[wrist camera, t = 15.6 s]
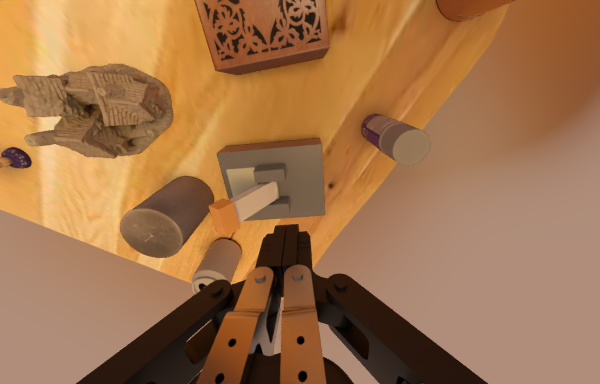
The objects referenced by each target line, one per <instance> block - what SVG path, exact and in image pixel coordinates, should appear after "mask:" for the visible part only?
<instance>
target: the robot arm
mask: <svg viewBox="0 0 600 384" xmlns="http://www.w3.org/2000/svg"><path fill="white" fill-rule="evenodd" d="M513 1H515V0H437V5H438V7H439V9H440V11H441V12H442V14H443V15H444V16H445V17H447V18H448V19H450V20H453V21H466V20H469V19H472V18H474V17H478V16H480V15H482V14H485V13H486V12H489V11H491V10H494V9H496V8H498V7H501V6H503V5H506V4H508V3H510V2H513ZM281 297H284V311H282V324H281V325H282V327H281V353H278V354H275V355H274V344H275V338H276V333H277V327H278V322H279V316H280V310H281V309H280V303H281ZM210 320H211V321H210ZM208 321H210V322H209V323H208V324H207V325H206V326H205V327H203V326H204V325H205V324H206V323H207V322H208ZM318 322H321V323H325V324H328V325H329V327H330V329H331V330H332V331H333V333H334V334H335V335H336V336H337V337H338V338H339V339H340V340H341V341H342V343H343V344H344V345H345V346H346V347H347V348H348V349H349V350H350V351H351V352H352V354H353V355H354V356H355V357H356V358H357V359H358V360H359V361H360V362H361V363H362V365H363V366H364V367H365V368H366V369H367V370H368V371H369V372H370V373H371V375H372V376H373V377H374V378H375V379H376V380H377V381H378V382H379V383H380V384H488V383H487V382H485V381H484V380H483V379H481V378H480V377H479V376H477V375H476V374H475V373H473V372H472V371H471V370H470V369H468V368H467V367H466V366H464V365H463V364H462V363H461V362H459V361H458V360H456V359H455V358H454V357H453V356H452V355H450V354H449V353H448V352H446V351H445V350H444V349H443V348H441V347H440V346H438V345H437V344H436V343H435V342H433V341H432V340H431V339H430V338H428V337H427V336H426V335H424V334H423V333H422V332H420V331H419V330H418V329H417V328H415V327H414V326H413V325H411V324H410V323H409V322H408V321H406V320H405V319H404V318H402V317H401V316H400V315H399V314H397V313H396V312H394V311H393V310H392V309H391V308H389V307H388V306H387V305H386V304H384V303H383V302H382V301H380V300H379V299H378V298H377V297H375V296H374V295H373V294H371V293H370V292H369V291H367V290H366V289H365V288H364V287H362V286H361V285H360V284H358V283H357V282H356V281H354V280H353V279H352V278H350V277H349V276H347V275H345V274H334V275H332V276H330V277H329V278H328V279H327V278H323V277H320V276H318V275H316V274H315V273H314V272H313V270H312V253H311V242H310V236H309V234H308V233H307V231H304V232H299V225H298V224H292V225H277V226H275V229H274V233H273V234H267V235H266V236H265V237H264V239H263V241H262V245H261V248H260V252H259V256H258V259H257V263H256V267H255V269H254V270H252V271H251V272H250V273H249V274H248V276H247V279H246V280H244V281H241V282H238V283H235V284H232V285H231V284H230V282H229V281H227V280H225V279H220V280H216V281H213V282H211V283H210V284H209V285H207V286H206V287H205V288H203V289H202V290H201V291H199V292H198V293H197V294H195V295H194V296H193V297H191V298H190V299H189V300H187V301H186V302H185V303H183V304H182V305H180V306H179V307H178V308H176V309H175V310H174V311H172V312H171V313H170V314H168V315H167V316H166V317H164V318H163V319H162V320H160V321H159V322H158V323H157V324H155V325H154V326H152V327H151V328H150V329H148V330H147V331H146V332H144V333H143V334H142V335H141V336H139V337H138V338H136V339H135V340H134V341H132V342H131V343H130V344H128V345H127V346H126V347H124V348H123V349H122V350H120V351H119V352H118V353H117V354H115V355H114V356H112V357H111V358H110V359H108V360H107V361H106V362H104V363H103V364H102V365H100V366H99V367H98V368H96V369H95V370H94V371H92V372H91V373H90V374H88V375H87V376H86V377H84V378H83V379H82V380H80V381H79V382H78V383H76V384H188V383H189V382H190V381H191V380H192V379H193V378H194V379H193V380H192V381H191V382H190V383H189V384H354V383H353V382H352V381H351V379H350V378H349V377H348V375H347V374H346V373H345V372H344V371H343V370H342V369H341V368H340V367H339V366H338V365H336V364H335V363H334V362H332V361H331V360H329V359H327V358H325V357H323V356H322V348H321V340H320V333H319V326H318ZM201 327H203V328H202V329H201V330H200V331H199V332H198V333H197V334H196V335H195V336H194V337H192V338H191V339H190V340H189V341H188V342H187V340H188V339H189V338H190V337H191V336H192V335H193V334H195V333H196V332H197V331H198V330H199V329H200V328H201ZM201 370H202V371H201ZM200 371H201V372H200ZM199 372H200V373H199ZM198 373H199V374H198ZM197 374H198V375H197ZM196 375H197V376H196Z"/></svg>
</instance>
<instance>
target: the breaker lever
mask: <svg viewBox="0 0 600 384" xmlns="http://www.w3.org/2000/svg"><path fill="white" fill-rule="evenodd" d="M278 198H279V190H278V184H277V181H275V182H262V183H260V184H258V185H257V186H255V187H253V188H251V189H249V190H247V191H245V192H243V193H241V194H239V195H237V196H236V197H234V198H232V199H230V200H226V199H221V200H219V201H217V202H215V203H213V204H211V205H209V209H210V212H211V216H212V219H213V222H214V225H215V228H216V231H217V232H218V233H220V234H222V235H224V236H226V237H227V236H229V235H230V234H232V233H233V232H235V231H236V230H238V229H239V228H240V226H239V223H241V222H242V221H244V220H245V219H247V218H248V217H250V216H251V215H253V214H255V213H256V212H258V211H259V210H261V209H262V208H264V207H265V206H267V205H268V204H270V203H272V202H273V201H275V200H276V199H278Z"/></svg>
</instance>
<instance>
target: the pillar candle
mask: <svg viewBox="0 0 600 384" xmlns="http://www.w3.org/2000/svg"><path fill="white" fill-rule="evenodd" d="M213 203H214V196H213V193H212V191H211V189H210V188H209V187H208V185H207V184H206V183H204V182H203V181H202V180H200V179H197V178H193V177H188V176H183V177H178V178H177V179H175V180H173V181H172V182H170V183H169V184H167V185H166V186H165V187H163V188H162V189H160V190H159V191H157V192H156V193H154V194H153V195H152V196H150V197H149V198H148V199H146V200H145V201H143V202H142V203H141V204H139V205H138V206H137V207H135V208H134V209H132V210H129V211H128V212H127V213H126V215H125V216H124V217H123V218H122V220H121V223H120V231H121V234H122V236H123V238H124V239H125V241H126V242H127V243H128V244H129V245H130V246H131V247H132V248H133V249H135V250H136V251H138V252H140V253H142V254H144V255H147V256H151V257H156V258H166V257H170V256H173V255H175V254H176V253H177V252H178V251H179V250H180V249H181V248H182V246H183V245H184V244H185V243H186V241H187V240H188V239H189V237H190V236H191V235H192V234H193V232H194V231H195V230H196V228H197V227H198V226H199V224H200V223H201V222H202V220H203V219H204V218H205V217H206V215H207V214H208V213H209V211H210V209H209V205H211V204H213Z"/></svg>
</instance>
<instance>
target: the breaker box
mask: <svg viewBox="0 0 600 384" xmlns="http://www.w3.org/2000/svg"><path fill="white" fill-rule="evenodd" d="M217 157H218V161H219V164H220V168H221V172H222V175H223V179H224V183H225V186H226V190H227V194H228V198H229V200H230V199H232V198H234V197H236V196H237V195H239V194H241V193H243V192H245V191H247V190H249V189H251V188H253V187H255V186H257V185H258V184H260V183H262V182H275V181H277V184H278V190H279V198H278V199H276V200H275V201H273V202H272V203H270V204H268V205H267V206H265V207H264V208H262V209H261V210H259V211H258V212H256V213H255V214H253V215H251V216H250V217H248V218H247V219H245V220H244V221H249V220H264V219H279V218H293V217H308V216H323V215H325V203H324V181H323V160H322V143H321V140H320V138H313V139H301V140H290V141H279V142H267V143H256V144H245V145H233V146H226V147H224V148H223V149H222V150H220V151H219V152H218V153H217Z"/></svg>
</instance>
